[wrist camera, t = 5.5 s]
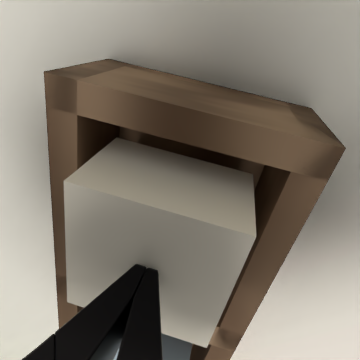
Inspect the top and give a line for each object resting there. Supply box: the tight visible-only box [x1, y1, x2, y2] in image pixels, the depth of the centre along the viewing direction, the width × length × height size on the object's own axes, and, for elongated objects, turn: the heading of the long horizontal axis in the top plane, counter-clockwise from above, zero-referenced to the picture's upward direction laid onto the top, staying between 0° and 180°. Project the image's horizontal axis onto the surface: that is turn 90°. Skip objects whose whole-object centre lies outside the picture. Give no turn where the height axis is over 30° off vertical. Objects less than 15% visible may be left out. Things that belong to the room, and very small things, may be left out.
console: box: [44, 59, 346, 360], centre depth 16 cm, size 10×22×5 cm, turn 169°
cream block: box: [64, 137, 256, 348], centre depth 11 cm, size 6×6×4 cm
